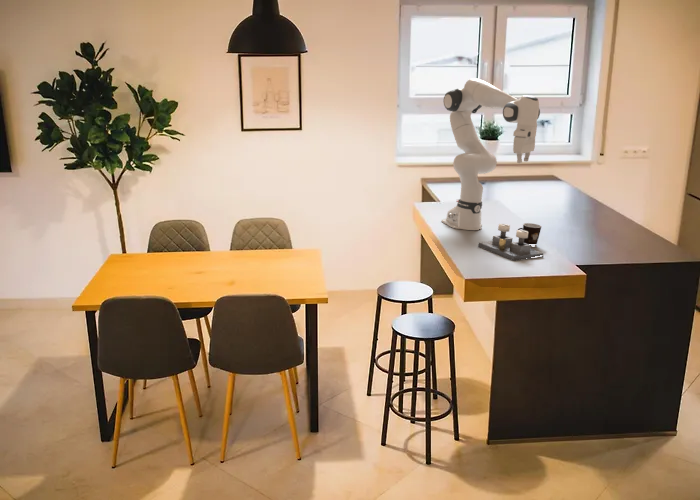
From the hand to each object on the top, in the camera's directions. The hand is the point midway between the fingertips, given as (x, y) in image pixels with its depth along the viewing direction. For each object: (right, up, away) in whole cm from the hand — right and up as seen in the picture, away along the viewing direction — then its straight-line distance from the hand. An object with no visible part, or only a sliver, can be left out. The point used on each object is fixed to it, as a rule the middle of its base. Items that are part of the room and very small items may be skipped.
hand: (522, 162), depth 333 cm
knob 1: (-8, -35, +5) cm, 36 cm away
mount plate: (-5, -41, +2) cm, 42 cm away
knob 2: (-2, -38, -5) cm, 38 cm away
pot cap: (-10, -40, -2) cm, 41 cm away
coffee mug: (+6, -38, +16) cm, 42 cm away
